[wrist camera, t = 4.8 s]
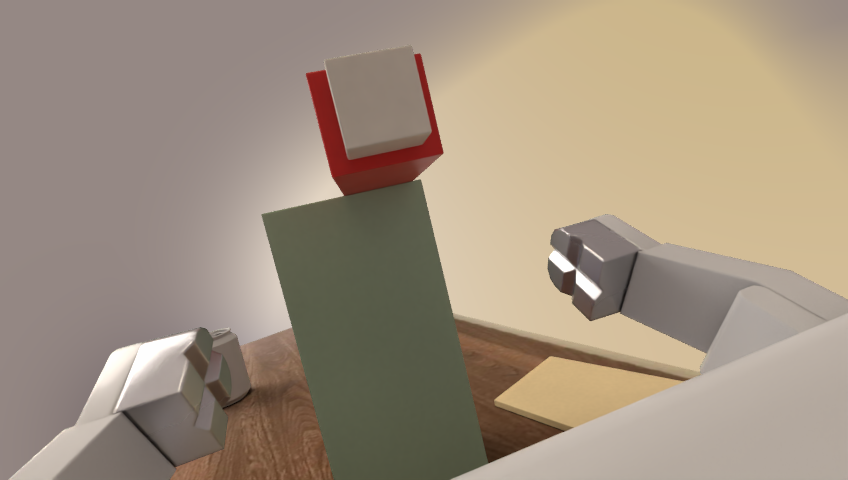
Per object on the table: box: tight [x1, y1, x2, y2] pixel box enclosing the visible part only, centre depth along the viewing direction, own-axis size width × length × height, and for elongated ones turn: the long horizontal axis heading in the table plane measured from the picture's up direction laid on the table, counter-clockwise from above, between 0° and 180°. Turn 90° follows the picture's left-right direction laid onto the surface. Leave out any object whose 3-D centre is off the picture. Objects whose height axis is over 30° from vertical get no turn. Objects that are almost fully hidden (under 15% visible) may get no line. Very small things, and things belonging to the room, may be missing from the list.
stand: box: [262, 180, 488, 480], centre depth 31 cm, size 14×10×26 cm
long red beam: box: [306, 45, 443, 196], centre depth 24 cm, size 24×4×4 cm, turn 10°
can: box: [209, 328, 251, 407], centre depth 63 cm, size 8×8×12 cm
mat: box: [494, 356, 683, 431], centre depth 38 cm, size 20×12×1 cm, turn 39°
